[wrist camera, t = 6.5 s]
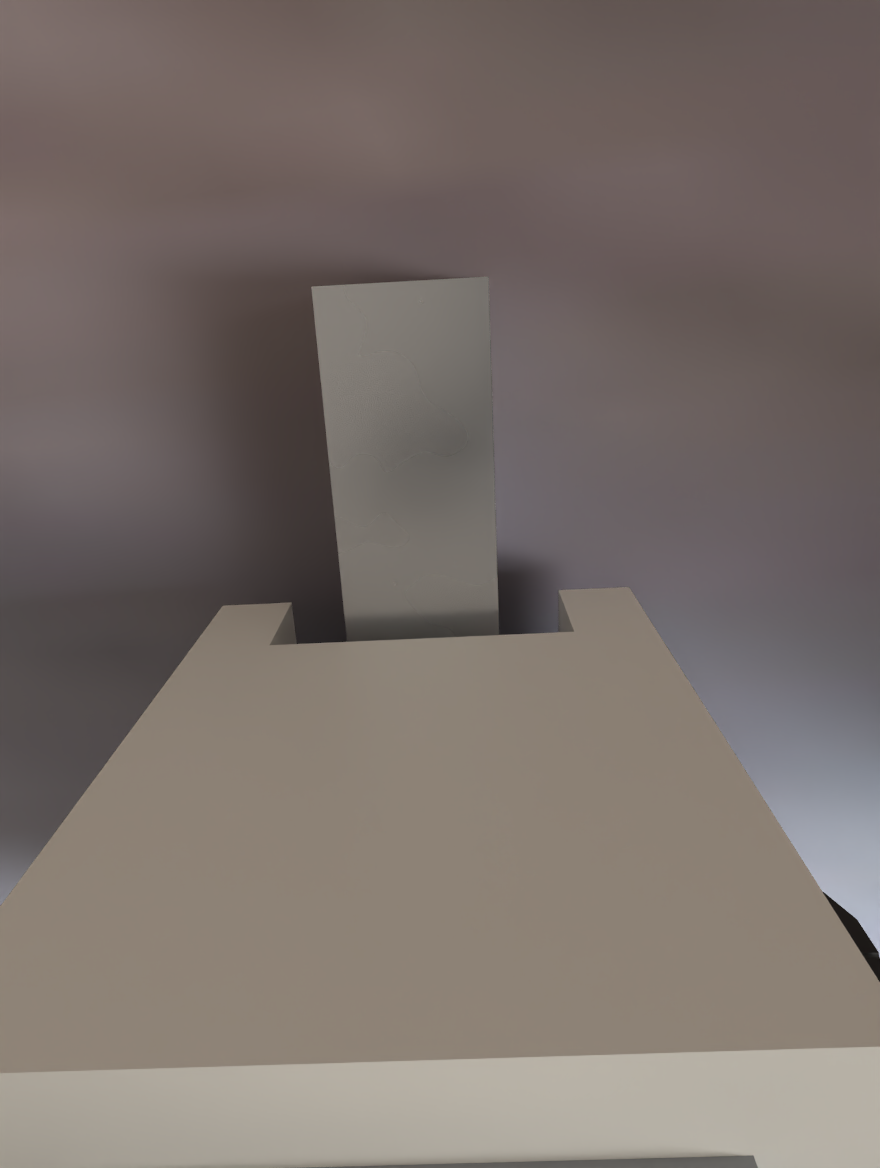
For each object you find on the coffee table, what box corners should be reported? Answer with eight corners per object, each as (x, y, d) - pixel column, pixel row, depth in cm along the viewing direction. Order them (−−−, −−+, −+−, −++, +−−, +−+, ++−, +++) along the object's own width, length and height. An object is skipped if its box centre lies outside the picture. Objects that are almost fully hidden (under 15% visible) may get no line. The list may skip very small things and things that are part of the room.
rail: (335, 289, 13) (311, 286, 11) (481, 280, 13) (488, 276, 11) (413, 1138, 20) (408, 1252, 17) (509, 1136, 20) (517, 1250, 17)
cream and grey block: (222, 605, 14) (-170, 1136, 5) (628, 586, 13) (956, 1103, 5) (273, 925, 16) (66, 1663, 7) (619, 913, 16) (826, 1656, 7)
